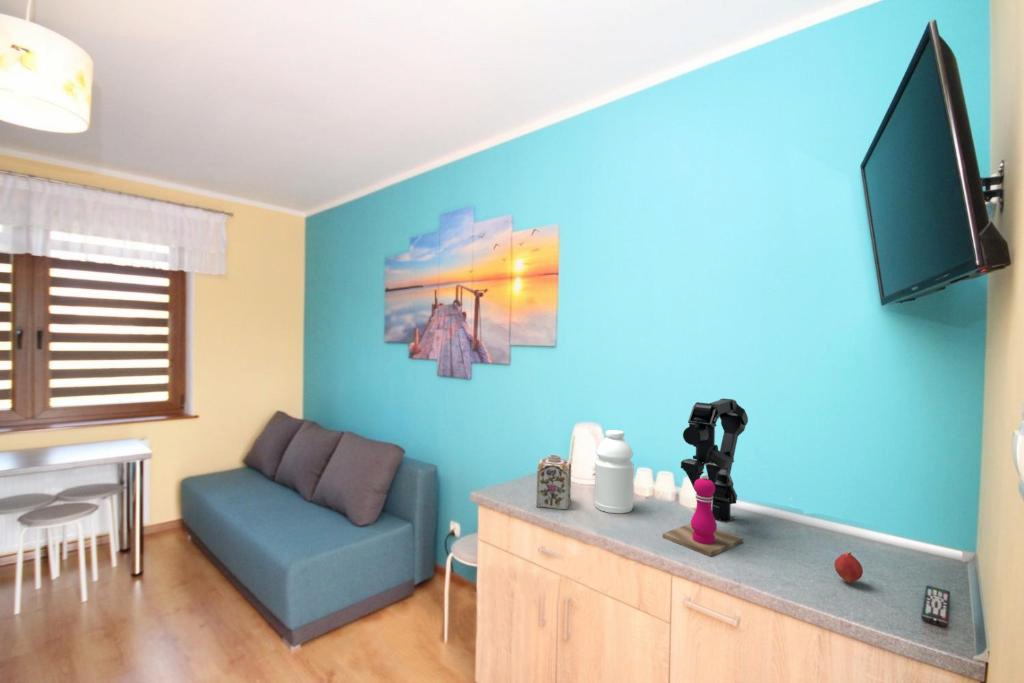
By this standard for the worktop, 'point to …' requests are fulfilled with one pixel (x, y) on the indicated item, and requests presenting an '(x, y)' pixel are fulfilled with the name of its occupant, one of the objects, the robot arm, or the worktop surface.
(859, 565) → the onion
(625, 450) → the bottle
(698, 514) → the pepper mill
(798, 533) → the worktop surface
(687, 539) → the tan cloth
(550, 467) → the decorative jar
